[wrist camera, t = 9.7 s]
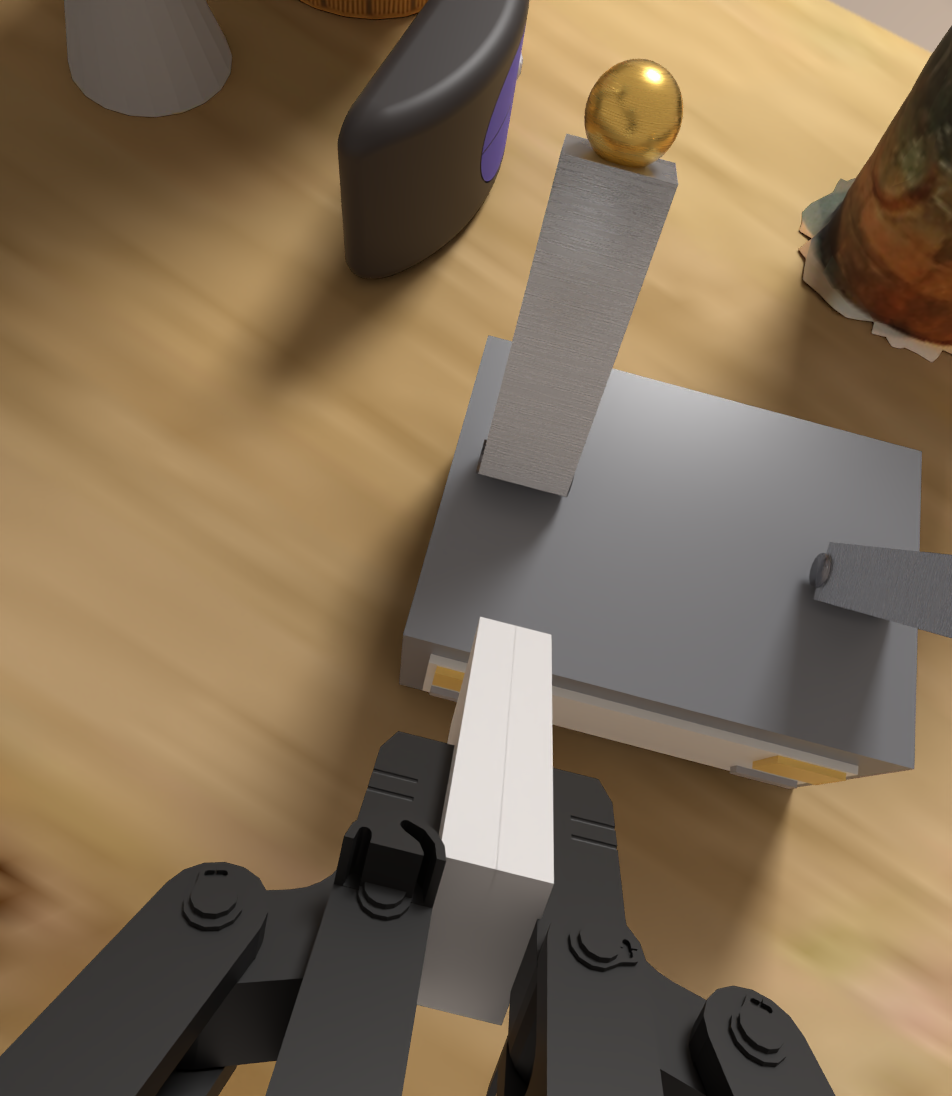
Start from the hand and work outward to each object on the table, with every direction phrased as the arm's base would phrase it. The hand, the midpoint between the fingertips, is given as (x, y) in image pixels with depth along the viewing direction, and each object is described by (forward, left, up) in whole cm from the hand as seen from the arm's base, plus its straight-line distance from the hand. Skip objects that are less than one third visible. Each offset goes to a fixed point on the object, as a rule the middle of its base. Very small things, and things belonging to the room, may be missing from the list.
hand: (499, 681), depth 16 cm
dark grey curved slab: (-9, +29, -17) cm, 35 cm away
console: (+6, +9, -16) cm, 19 cm away
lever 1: (0, +9, -8) cm, 12 cm away
